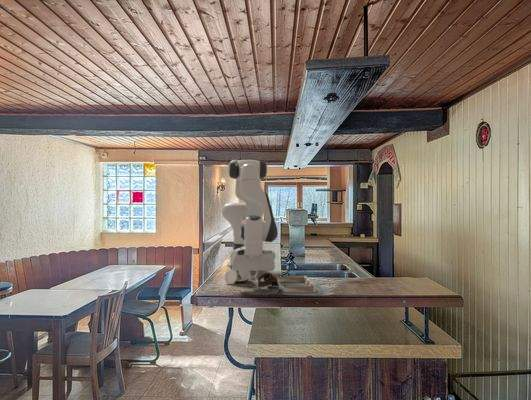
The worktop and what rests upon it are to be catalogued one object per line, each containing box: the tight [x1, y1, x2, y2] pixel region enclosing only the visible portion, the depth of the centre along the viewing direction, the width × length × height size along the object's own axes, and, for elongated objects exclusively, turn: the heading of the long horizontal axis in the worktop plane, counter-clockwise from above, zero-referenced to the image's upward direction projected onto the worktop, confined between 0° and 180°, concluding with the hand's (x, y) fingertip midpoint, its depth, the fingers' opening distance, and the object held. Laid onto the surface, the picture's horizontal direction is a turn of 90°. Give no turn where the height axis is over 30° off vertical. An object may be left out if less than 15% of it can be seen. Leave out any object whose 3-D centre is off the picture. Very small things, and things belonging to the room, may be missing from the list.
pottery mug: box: [257, 272, 280, 290], centre depth 164 cm, size 12×10×8 cm
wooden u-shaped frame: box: [276, 275, 317, 293], centre depth 167 cm, size 20×15×3 cm
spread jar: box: [224, 265, 250, 285], centre depth 174 cm, size 12×11×12 cm
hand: (253, 279), depth 164 cm, fingers closed
